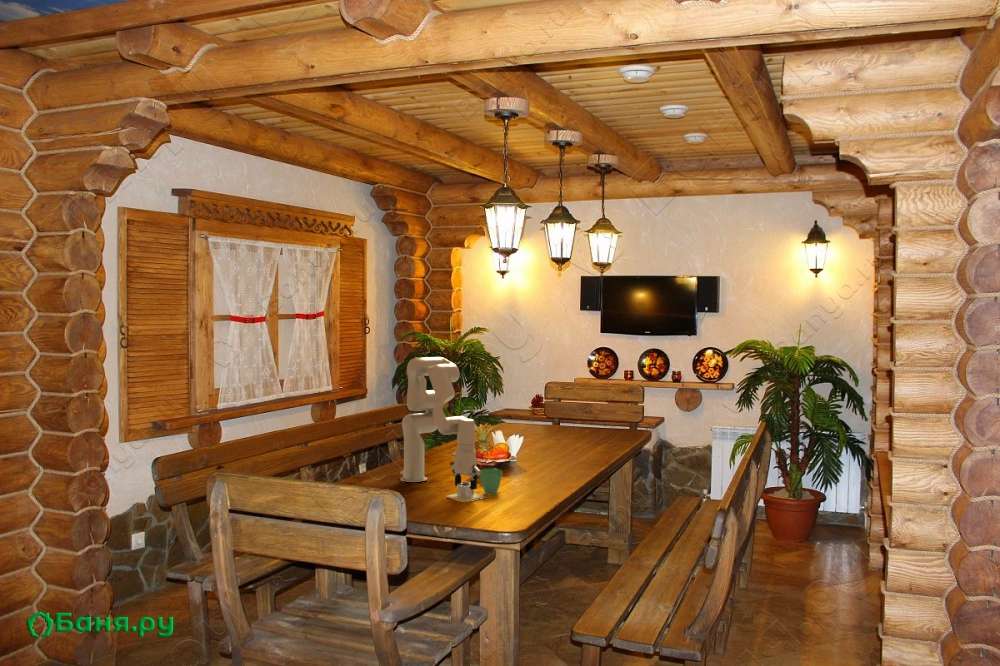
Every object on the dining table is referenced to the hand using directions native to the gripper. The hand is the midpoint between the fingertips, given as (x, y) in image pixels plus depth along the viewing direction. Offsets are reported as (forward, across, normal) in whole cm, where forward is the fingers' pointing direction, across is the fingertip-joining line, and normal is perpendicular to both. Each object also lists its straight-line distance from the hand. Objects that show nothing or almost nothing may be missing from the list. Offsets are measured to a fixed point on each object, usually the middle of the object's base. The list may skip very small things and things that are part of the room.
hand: (465, 487), depth 354 cm
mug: (+5, 0, +16) cm, 17 cm away
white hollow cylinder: (+4, 0, 0) cm, 4 cm away
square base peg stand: (+5, 0, 0) cm, 5 cm away
